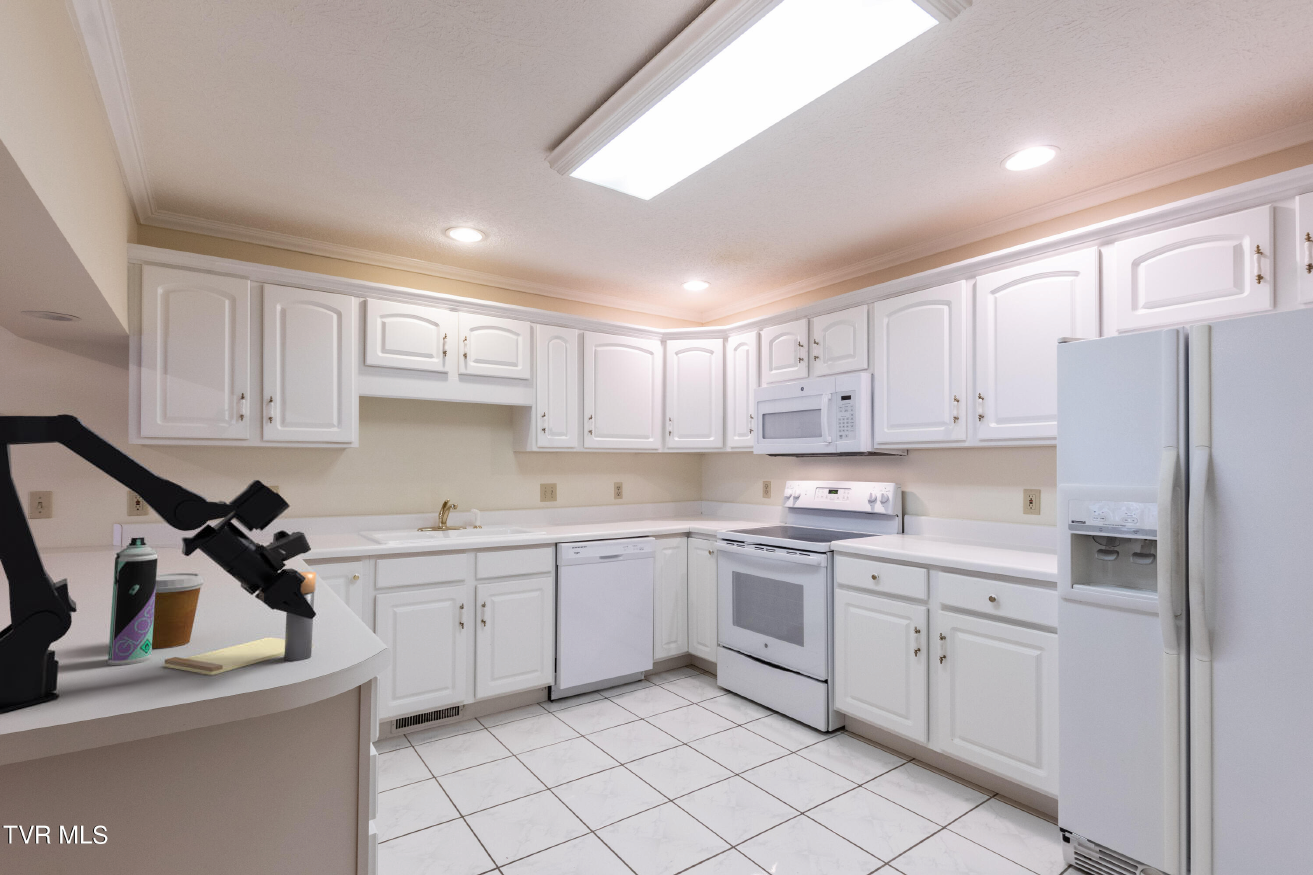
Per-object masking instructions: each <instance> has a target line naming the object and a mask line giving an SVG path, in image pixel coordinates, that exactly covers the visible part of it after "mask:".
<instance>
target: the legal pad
mask: <svg viewBox="0 0 1313 875" xmlns="http://www.w3.org/2000/svg"><path fill="white" fill-rule="evenodd" d="M313 646H314V644H313V643H312V648H313ZM284 651H285V638H283V639H282V638H275V637H270V636H269V637H265V638H261V639H257V640H253V641H249V642H246V643H240V644H237V645H232V646H228V647H225V648H221V649H217V650H213V651H208V652H205V653H201V654H197V655H192V656H188V657H184V658H183V657H178V656H174V657H168V658H165V659H164V667H165V668H171V669H175V670H183V671H187V672H193V673H197V674H198V673H199V674H203V675H209V676H214V675H218V674H221V673H225V672H228V671H231V670H234V669H238V668H242V667H247V666H249V665H253V664H256V663H260V662H264V661H266V660H270V659H273V658H277V657H281V656H284Z"/></svg>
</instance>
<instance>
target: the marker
mask: <svg viewBox="0 0 1313 875" xmlns="http://www.w3.org/2000/svg"><path fill="white" fill-rule="evenodd" d="M298 572H299V573H300V574H301V575H302V576H304V577H305V578H306V579H305V581H304V582H303V583H302V585H301V592H302V594H303V595H304V597H305V598H306V600H307V601H308V603H309V604H310V605H311V607H312V608H313V610H314V607H315V606H314V605H315V592H316V583H317V582H316V580H317V579H316V578H317V572H315V571H298ZM314 611H315V610H314ZM285 613H286V614H285V615H286V616H285V631H284V632H285V636H284V640H285V651H284V655H283V660H284V661H286V662H297V661H305V660H308V659H309V658H311V657H312V651H313V650H312V649H313V647H312V644H313V630H314V629H313V628H314V618H313V619H308V618H305V617H301V616H298V615H294V614H290V613H287V612H285Z"/></svg>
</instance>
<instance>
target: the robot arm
mask: <svg viewBox="0 0 1313 875" xmlns="http://www.w3.org/2000/svg"><path fill="white" fill-rule="evenodd" d="M34 444H35V445H36V444H60V445H62V446H63V447H65V448H66V449H68V450H69V451H71V452H72V453H74V454H75V455H77V456H79V457H80V458H82V459H83V460H85V461H86V462H88V463H89V464H91V465H93V467H95V468H97V469H99V470H100V471H101V472H103V473H104V474H106V475H107V476H109V477H110V478H112V479H113V480H115V481H116V482H118V483H119V484H120V485H122V486H124V487H125V488H127V489H129V490H130V491H132V492H133V493H134V494H136V495H137V496H138V497H139V498H140V500H142V501H143V502H144V503H145V504H146V505H147V506H148V507H149V508H150V509H151V510H152V511H153V512H154V513H155V514H156V515H157V516H158V517H159V518H161V519H162V521H164V523H166V524H167V525H168V526H169V527H172V528H173V529H175V530H178V531H183V532H191V531H195V530H198V529H200V528H201V529H200V530H199V531H198V532H196V533H195V534H194V535H193V536H189V537H186V536H184V537H183V536H182V538H181V543H182V549H181V554H182V555H184V556H185V557H189V556H191V555H192V554H193V553H194V552H195V551H197V550H200V552H202V553H203V554H205V556H207V557H208V558H209V559H211V560H212V561H213V562H214V563H215V564H216V565H218V566H219V567H221V568H222V569H223V571H225V572H226V573H227V574H229V575H230V576H232V578H234V579H235V580H236V581H237V582H239V583H240V587H241V588H242V589H243V590H244V591H246V592H247V593H248V594H250V595H251V596H253V595H254V594H255V596H254V597H255V598H256V599H257V600H259V601H261V602H262V603H263V604H264V605H266V606H267V607H268V608H269V609H271V610H273V611H274V610H276V611H281V612H283V613H286V612H287V613H290V614H294V615H298V616H301V617H305V618H308V619H313V620H314V618H315V617H316V615H317V612H316V611H315V610H313V608H312V607H311V605H310V604H309V603H308V601H307V600H306V598H305V597H304V595H303V594H302V592H301V585H302V583H303V582H304V581H305V579H306V578H305V577H304V576H302V575H301V574H300V573H299V572H300V571H298V570H297V569H293V568H292V567H291V568H285V567H286V566H287V564H286V563H285V562H286V561H288V560H291V559H293V558H295V557H297V556H299V555H301V554H306V553H308V552H310V551H312V548H311V546H310V544H309V542H308V541H309V540H308V539H307V537H306V535H305V533H304V532H301V531H293V532H291V533H289V532H287V531H286V530H283V529H282V530H279V531H277V532H275V533H273V536H272V537H273V538H272V541H271V542H269V544H267V545H264V544H260V543H259V542H255V541H254V540H253V539H252V538H251V537H249V536H248V535H247V534H246V533H245V532H244V531H243V530H241V529H240V528H239V527H238V526H237V525H235V523H234V522H232V521H233V520H235V521H236V522H237V523H238V524H239V525H240V526H242V527H243V528H244V529H245V530H247V531H248V532H249V533H252V532H253V531H254V530H256V531H257V530H258V531H260V532H263V531H264V530H265V529H266V528H267V527H268V526H270V525H271V524H272V523H273V522H274V521H275V520H276V519H278V518H279V516H281V515H282V514H283V513H284V512H285V511H286V510H288V509H289V508H290V507H291V506H290V504H289V503H288V502H287V501H286V500H285V498H284V497H282V495H280V494H279V493H278V492H276V491H273V490H272V489H271V488H270V487H268V486H267V485H265V483H263V482H262V481H261V480H260V479H254V480H252V481H251V483H249V484H248V485H247V486H246V488H245V489H244V490H243V491H241V492H240V493H239V494H237V495H236V496H234V498H233V499H231V500H230V501H229V502H228V503H227V502H226V501H223V500H219V501H218V502H217V501H210V500H208V499H207V498H206V497H205V496H203V495H201V494H200V493H198V492H195V491H192V490H190V488H189V489H188V488H187V487H184V486H182V485H180V484H179V483H175V482H173V481H171V480H169V479H166V478H164V477H163V476H161V475H158V474H156V472H154V471H153V470H151V469H150V468H148V467H146V466H145V465H143V464H142V463H141V462H139V461H138V460H137V459H135V458H133V456H131V455H129V454H128V453H126V452H125V451H123V450H121V449H120V448H119V447H118V446H116V445H114V444H113V443H111V442H110V441H109V440H107V439H106V438H104V437H103V436H101V435H100V434H98V433H97V432H95V431H94V430H92V429H91V428H90V427H88V426H87V425H85V424H84V423H83V422H82V420H81V419H80V418H79V417H77V416H74V415H72V414H66V413H65V414H57V415H0V563H1V565H2V568H3V571H4V574H5V577H6V580H7V583H8V595H9V596H8V597H9V598H8V599H9V600H8V601H9V613H10V622H11V623H9V624H8V625H7V626H6V627H4V628H3V629H1V630H0V713H4V712H10V711H12V710H13V711H14V710H17V709H20V708H24V707H28V706H31V705H36V704H39V703H40V704H41V703H44V702H47V701H50V700H56V699H59V698H60V696H61V695H60V693H58V692H56V691H57V688H58V677H59V676H58V674H59V663H60V661H59V660H57V659H56V650H55V649H54V650H53V649H49V648H50V647H51V644H53V643H55V642H58V641H59V640H60V639H61V638H63V637H64V636H65V635H66V634H67V633H68V632H69V630H70V629H71V626H72V622H73V621H72V617H73V616H72V613H76V612H77V602H76V601H75V600H74V599H73V598H72V597H71V595H70V592H69V584H68V578H66V577H65V578H63V579H60V580H58V581H56V582H55V581H54V580H53V578H52V577H51V576H50V574H49V573H48V571H47V570H46V568H45V565H44V562H43V560H42V557H41V554H40V552H39V548H38V546H37V543H36V539H35V536H34V534H33V531H32V528H31V525H30V522H29V520H28V519H29V518H28V516H27V513H26V512H25V508H24V506H23V502H22V500H21V497H20V494H19V491H18V489H17V485H16V483H15V480H14V477H13V469H12V467H13V466H12V452H11V445H12V446H13V445H14V446H15V445H18V446H19V445H34ZM220 519H221V520H220ZM216 520H220V521H219V522H217V523H216V524H215V525H214V526H212V525H211V524H210V523H208V521H209V522H210V521H216ZM207 523H208V524H207ZM203 526H204V527H203Z"/></svg>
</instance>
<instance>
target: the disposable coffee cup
mask: <svg viewBox="0 0 1313 875" xmlns="http://www.w3.org/2000/svg"><path fill="white" fill-rule="evenodd" d="M204 583H205V581H204V580H203V576H202V573H195V572H194V573H193V572H178V573H177V572H176V573H175V572H174V573H164V574H163V573H161V574H157V575H156V590H155V605H154V621H153V636H152V649H169V648H175V647H179V646H183V645H187V644H189V643H190V641H191V638H192V637H191V636H192V632H193V626H194V622H195V617H196V612H197V609H198V608H197V607H198V603H199V598H200V594H201V588H202V587H203V584H204Z"/></svg>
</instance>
